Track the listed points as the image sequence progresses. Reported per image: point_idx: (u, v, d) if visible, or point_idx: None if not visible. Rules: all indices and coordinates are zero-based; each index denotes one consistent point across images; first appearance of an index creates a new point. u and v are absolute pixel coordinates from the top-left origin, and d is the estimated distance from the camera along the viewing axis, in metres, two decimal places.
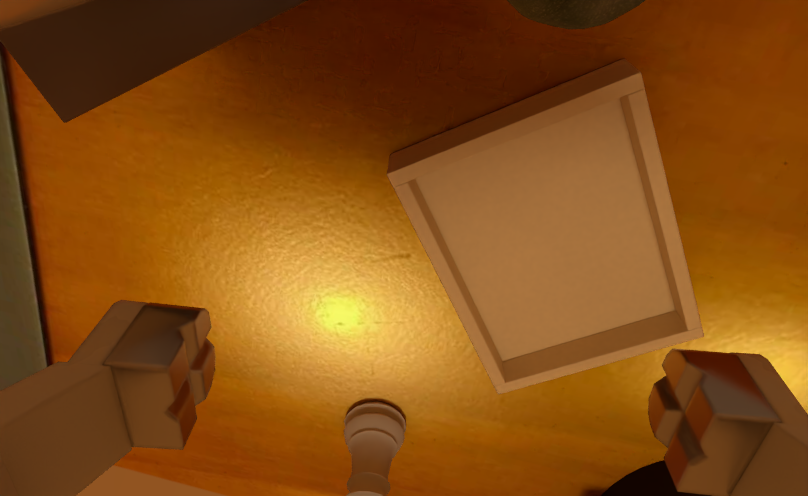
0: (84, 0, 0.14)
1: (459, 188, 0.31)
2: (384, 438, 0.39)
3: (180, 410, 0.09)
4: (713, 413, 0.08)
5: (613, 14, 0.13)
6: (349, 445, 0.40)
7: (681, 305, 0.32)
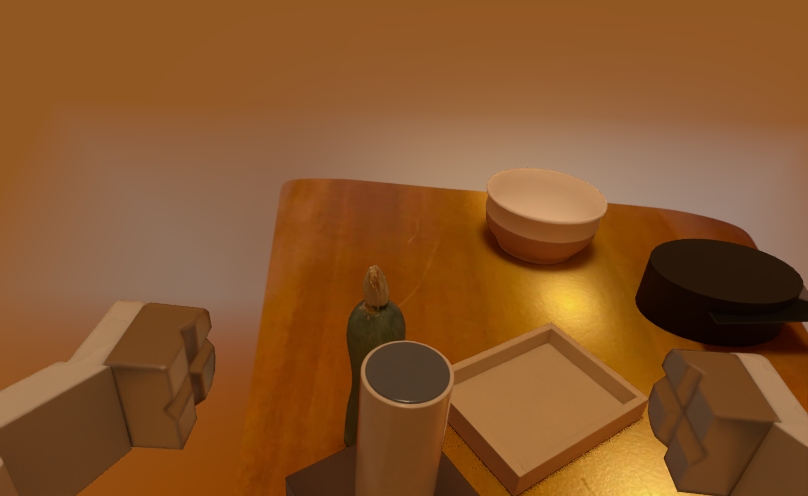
0: None
1: (519, 451, 0.50)
2: None
3: (180, 410, 0.09)
4: (713, 413, 0.08)
5: None
6: None
7: (538, 334, 0.60)
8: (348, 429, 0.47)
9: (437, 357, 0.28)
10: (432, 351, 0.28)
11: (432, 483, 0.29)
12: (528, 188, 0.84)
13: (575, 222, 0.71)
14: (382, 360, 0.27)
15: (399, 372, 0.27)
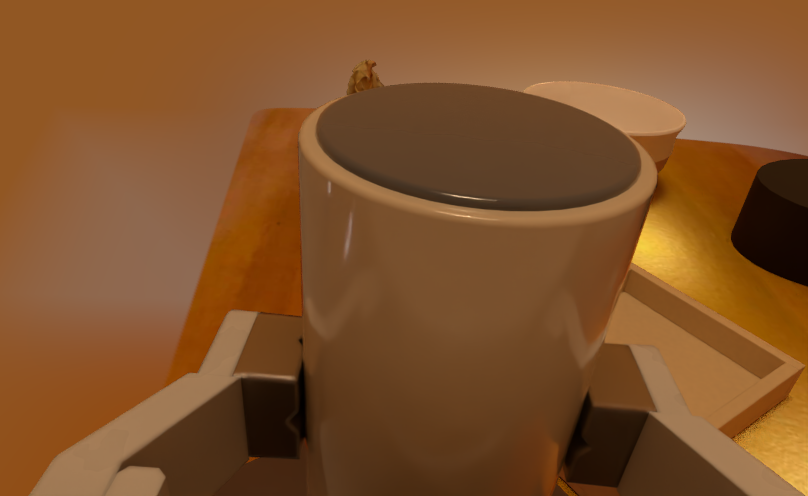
0: None
1: None
2: None
3: (299, 420, 0.09)
4: (591, 403, 0.08)
5: None
6: None
7: None
8: None
9: (570, 111, 0.08)
10: (549, 100, 0.08)
11: None
12: None
13: (649, 133, 0.51)
14: (380, 107, 0.08)
15: (446, 131, 0.07)
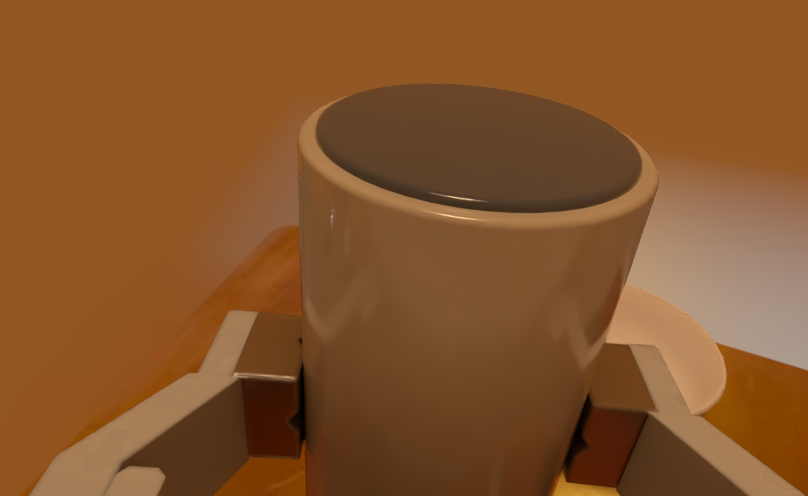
0: None
1: None
2: None
3: (299, 420, 0.09)
4: (591, 403, 0.08)
5: None
6: None
7: None
8: None
9: (570, 112, 0.08)
10: (549, 101, 0.08)
11: None
12: None
13: None
14: (379, 108, 0.08)
15: (446, 132, 0.07)
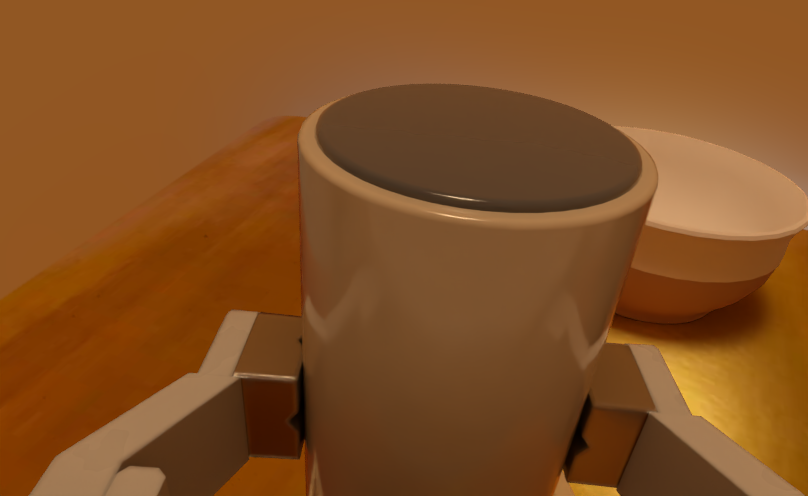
0: None
1: None
2: None
3: (299, 420, 0.09)
4: (591, 403, 0.08)
5: None
6: None
7: None
8: None
9: (570, 112, 0.08)
10: (549, 101, 0.08)
11: None
12: None
13: (711, 234, 0.30)
14: (380, 108, 0.08)
15: (447, 132, 0.07)
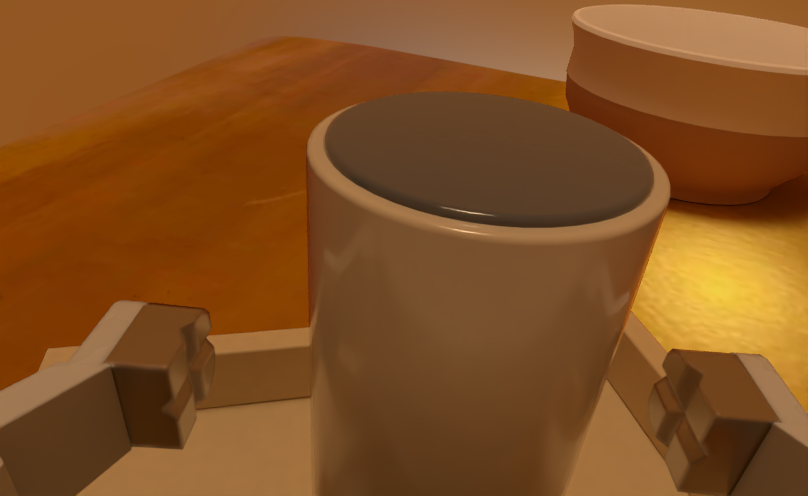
0: None
1: None
2: None
3: (180, 410, 0.09)
4: (713, 413, 0.08)
5: None
6: None
7: None
8: None
9: (580, 121, 0.08)
10: (558, 110, 0.08)
11: None
12: None
13: (785, 69, 0.25)
14: (388, 117, 0.07)
15: (456, 142, 0.07)
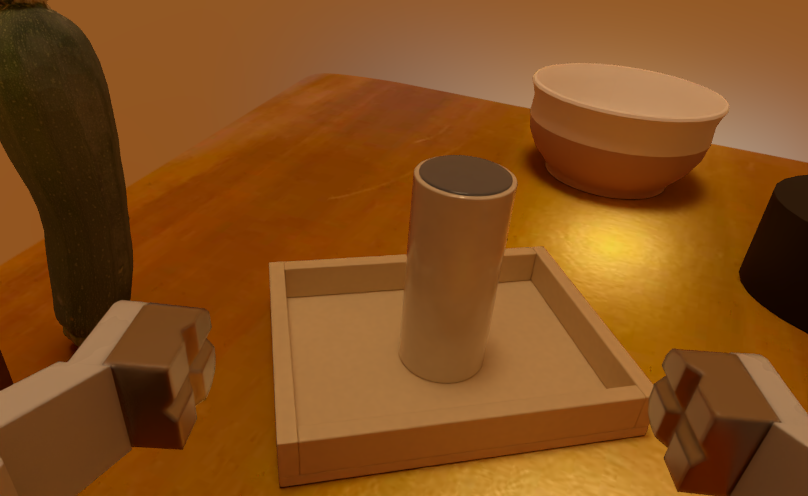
0: None
1: (347, 414, 0.26)
2: None
3: (180, 410, 0.09)
4: (713, 413, 0.08)
5: (77, 32, 0.21)
6: None
7: (506, 256, 0.35)
8: None
9: (495, 166, 0.25)
10: (490, 161, 0.26)
11: (488, 315, 0.27)
12: (617, 98, 0.56)
13: (651, 117, 0.42)
14: (436, 166, 0.25)
15: (457, 174, 0.24)
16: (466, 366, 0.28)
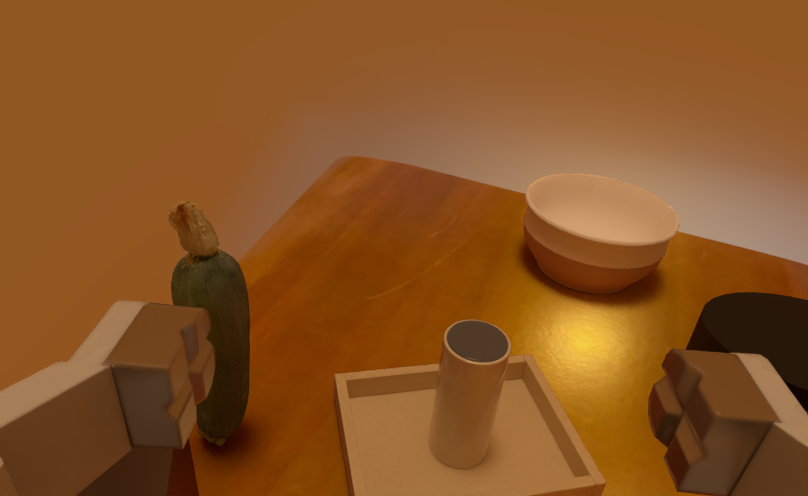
0: None
1: (397, 494, 0.39)
2: None
3: (180, 410, 0.09)
4: (713, 414, 0.08)
5: (235, 265, 0.34)
6: None
7: None
8: None
9: (497, 331, 0.38)
10: (493, 327, 0.38)
11: (491, 425, 0.40)
12: (594, 200, 0.69)
13: (615, 242, 0.55)
14: (458, 333, 0.38)
15: (471, 341, 0.37)
16: (476, 457, 0.40)
